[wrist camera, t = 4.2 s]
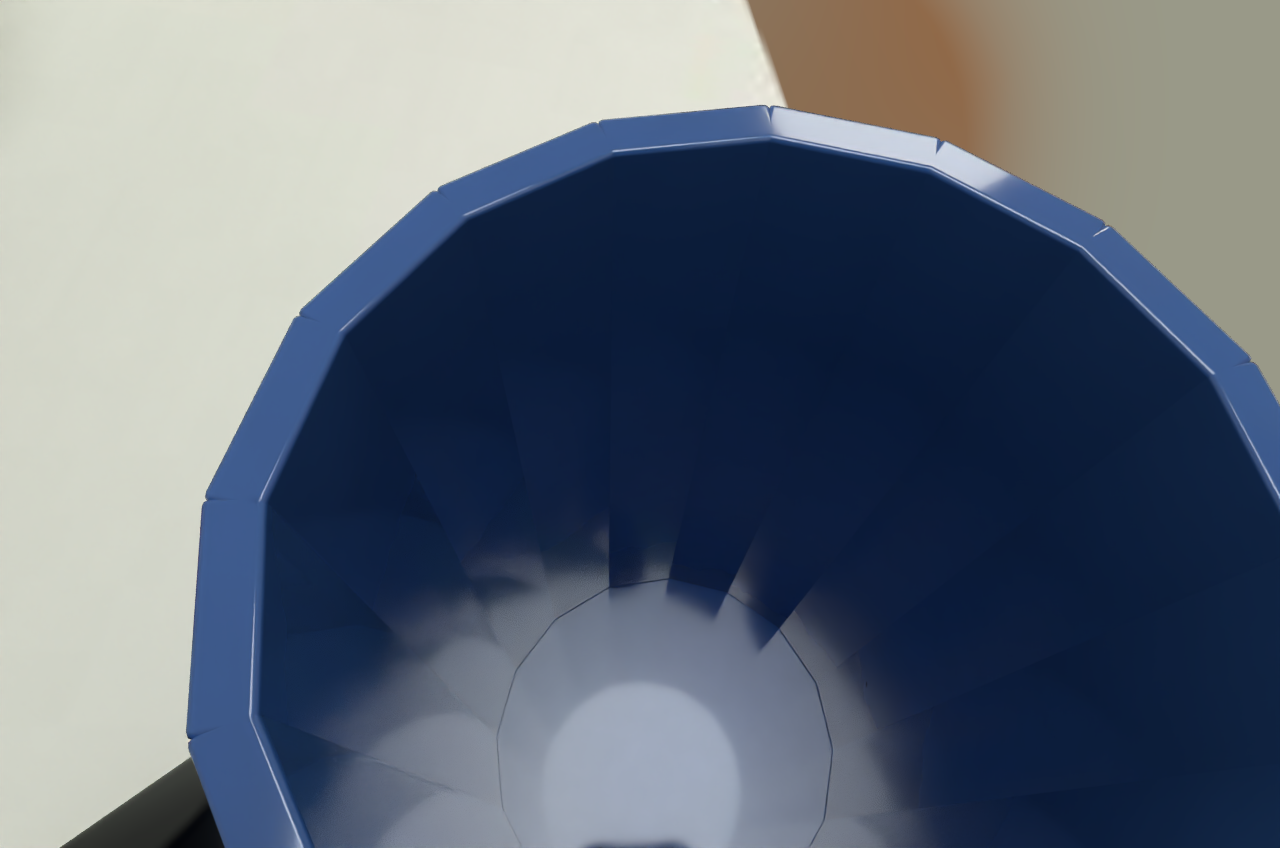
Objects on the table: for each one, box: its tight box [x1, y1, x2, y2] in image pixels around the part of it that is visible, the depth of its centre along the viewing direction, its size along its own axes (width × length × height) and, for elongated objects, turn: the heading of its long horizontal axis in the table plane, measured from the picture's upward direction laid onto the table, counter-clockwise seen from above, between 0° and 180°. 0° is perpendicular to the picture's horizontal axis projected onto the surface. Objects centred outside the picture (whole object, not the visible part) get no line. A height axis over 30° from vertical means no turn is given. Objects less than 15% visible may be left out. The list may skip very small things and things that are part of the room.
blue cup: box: [186, 105, 1280, 848], centre depth 11 cm, size 7×7×13 cm
